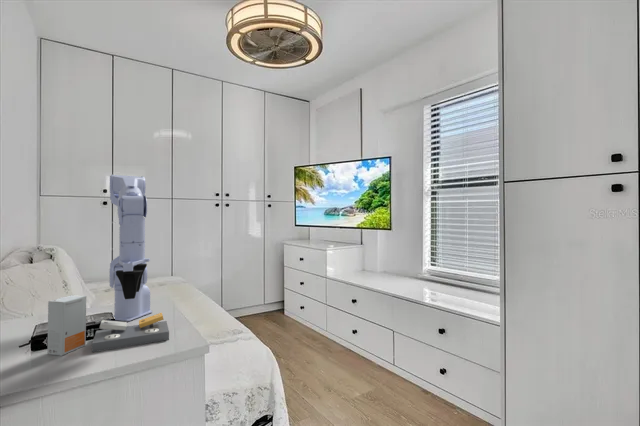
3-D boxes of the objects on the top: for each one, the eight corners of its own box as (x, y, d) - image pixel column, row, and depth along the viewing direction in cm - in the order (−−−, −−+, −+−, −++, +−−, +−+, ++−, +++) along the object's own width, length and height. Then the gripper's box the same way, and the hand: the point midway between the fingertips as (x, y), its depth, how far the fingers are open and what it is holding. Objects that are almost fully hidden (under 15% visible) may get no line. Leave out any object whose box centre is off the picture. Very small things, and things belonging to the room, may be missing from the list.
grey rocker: (99, 328, 80) (100, 324, 80) (100, 324, 83) (101, 319, 83) (125, 330, 82) (126, 325, 83) (125, 326, 85) (127, 321, 86)
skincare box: (62, 356, 73) (62, 302, 73) (46, 354, 74) (46, 301, 74) (87, 345, 79) (87, 295, 79) (72, 344, 80) (72, 294, 80)
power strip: (91, 352, 75) (91, 341, 75) (96, 338, 83) (96, 328, 83) (169, 339, 83) (169, 329, 83) (166, 328, 91) (166, 318, 91)
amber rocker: (139, 328, 84) (138, 324, 84) (139, 324, 87) (138, 320, 87) (163, 319, 87) (162, 315, 86) (162, 315, 90) (161, 312, 89)
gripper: (146, 244, 80) (146, 300, 80) (152, 239, 93) (152, 287, 93) (112, 245, 77) (112, 303, 77) (123, 240, 91) (123, 290, 91)
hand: (132, 295), depth 85 cm, fingers open, 7 cm apart
